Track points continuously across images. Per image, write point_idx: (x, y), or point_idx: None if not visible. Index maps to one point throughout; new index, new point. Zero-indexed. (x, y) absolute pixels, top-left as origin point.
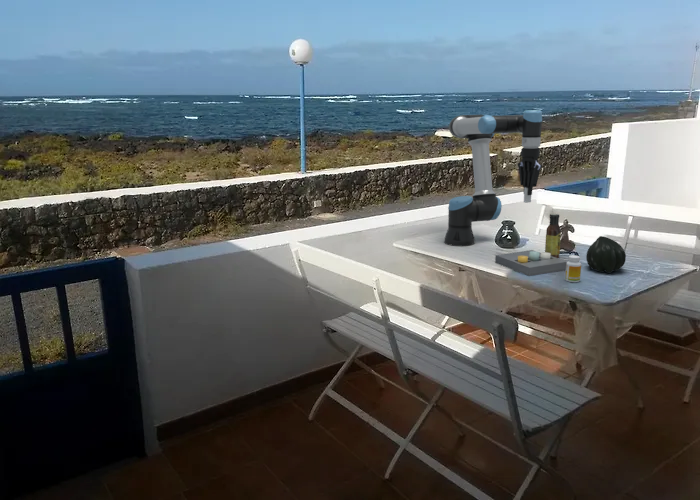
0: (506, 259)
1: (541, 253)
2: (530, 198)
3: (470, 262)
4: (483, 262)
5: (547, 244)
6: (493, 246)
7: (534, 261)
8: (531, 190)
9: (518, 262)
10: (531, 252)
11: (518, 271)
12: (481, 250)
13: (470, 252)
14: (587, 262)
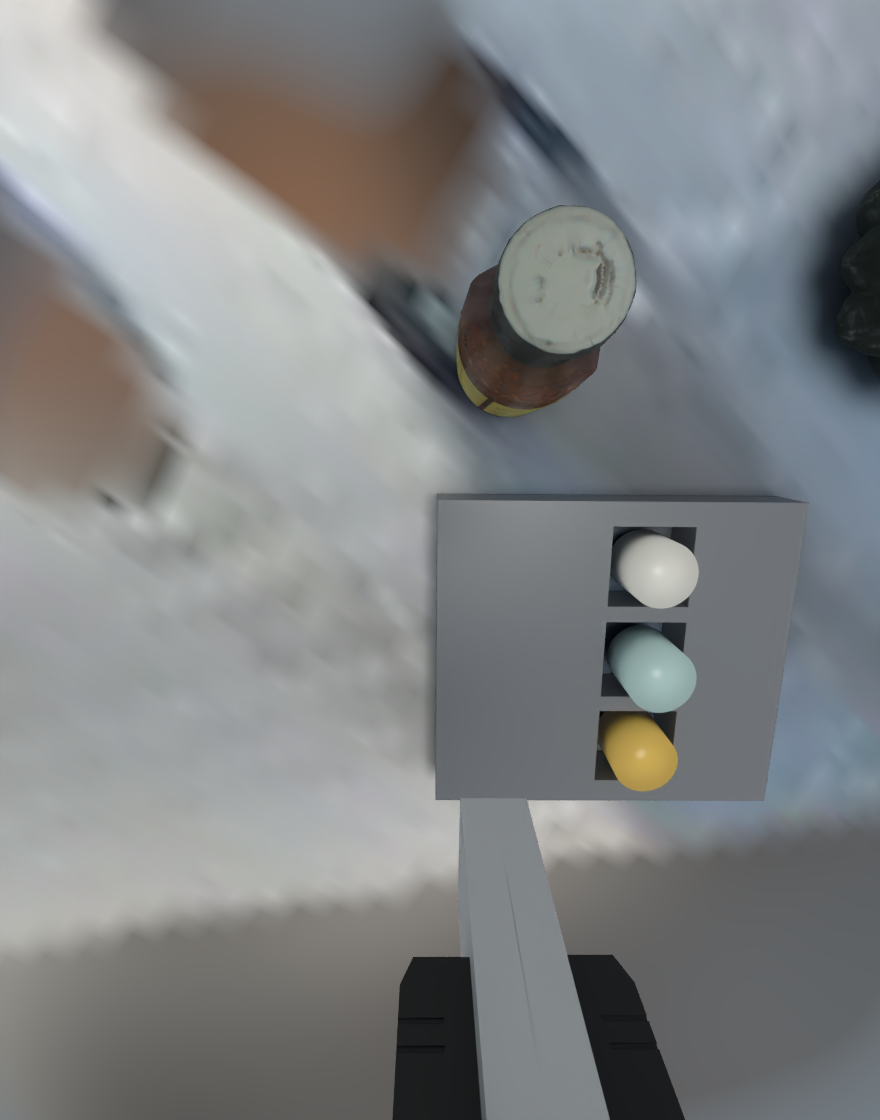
0: (547, 798)
1: (650, 603)
2: (538, 865)
3: (363, 877)
4: (396, 819)
5: (516, 413)
6: (61, 530)
7: None
8: (671, 1111)
9: None
10: (653, 701)
11: None
12: (136, 671)
13: (157, 759)
14: (846, 345)
